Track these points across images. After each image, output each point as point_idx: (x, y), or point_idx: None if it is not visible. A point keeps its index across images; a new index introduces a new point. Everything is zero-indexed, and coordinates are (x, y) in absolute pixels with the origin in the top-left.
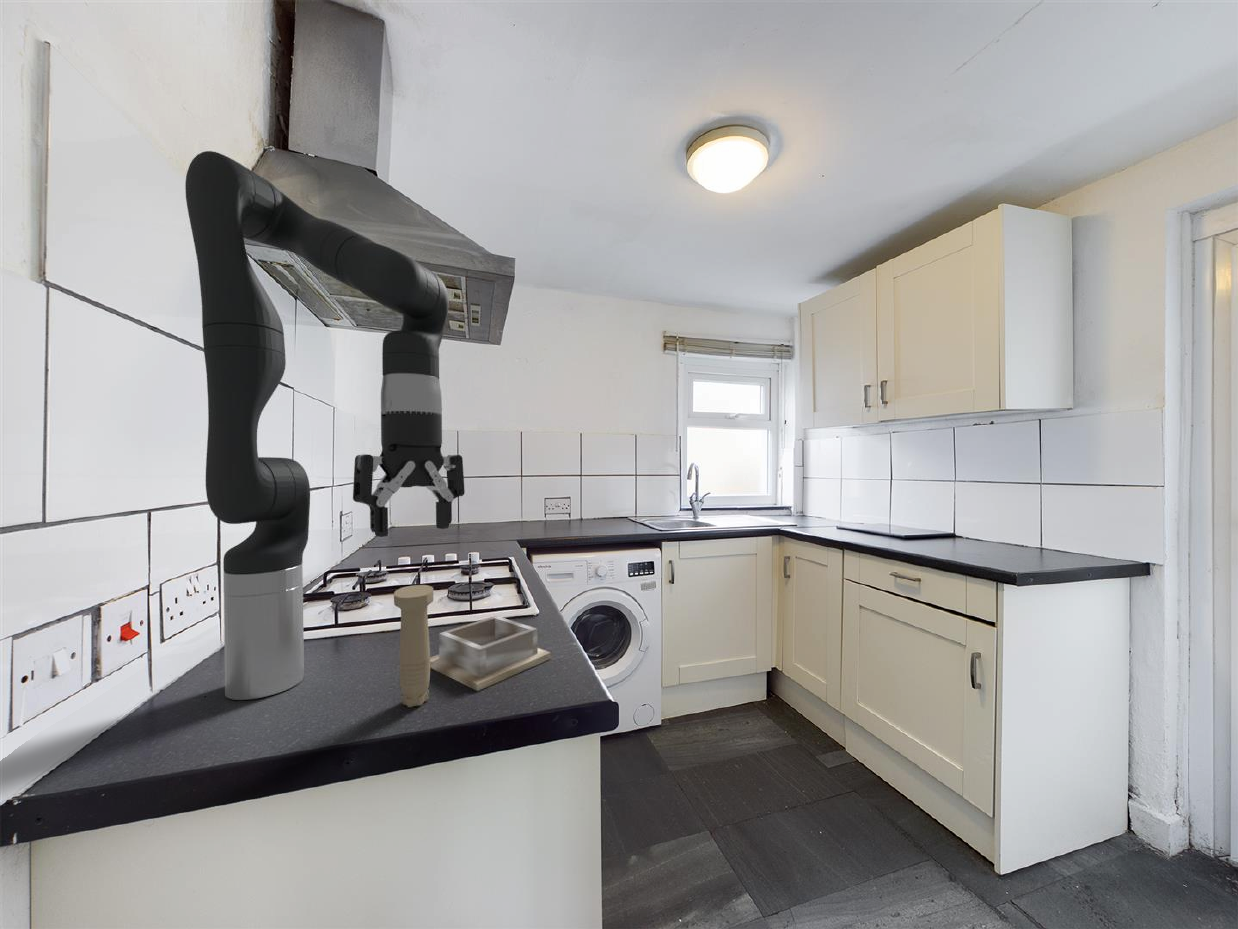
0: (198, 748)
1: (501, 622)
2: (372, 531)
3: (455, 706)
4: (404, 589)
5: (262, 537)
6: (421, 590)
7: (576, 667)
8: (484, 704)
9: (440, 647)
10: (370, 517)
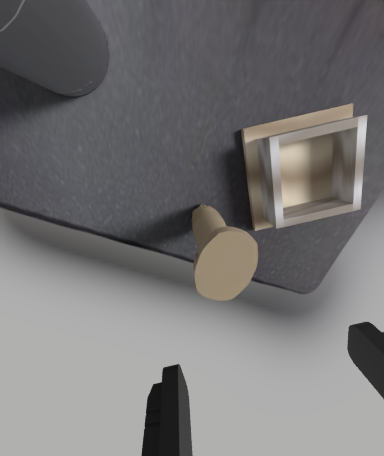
0: (34, 180)
1: (354, 144)
2: (154, 388)
3: None
4: (218, 248)
5: None
6: (236, 270)
7: (342, 239)
8: None
9: (262, 141)
10: (143, 441)
